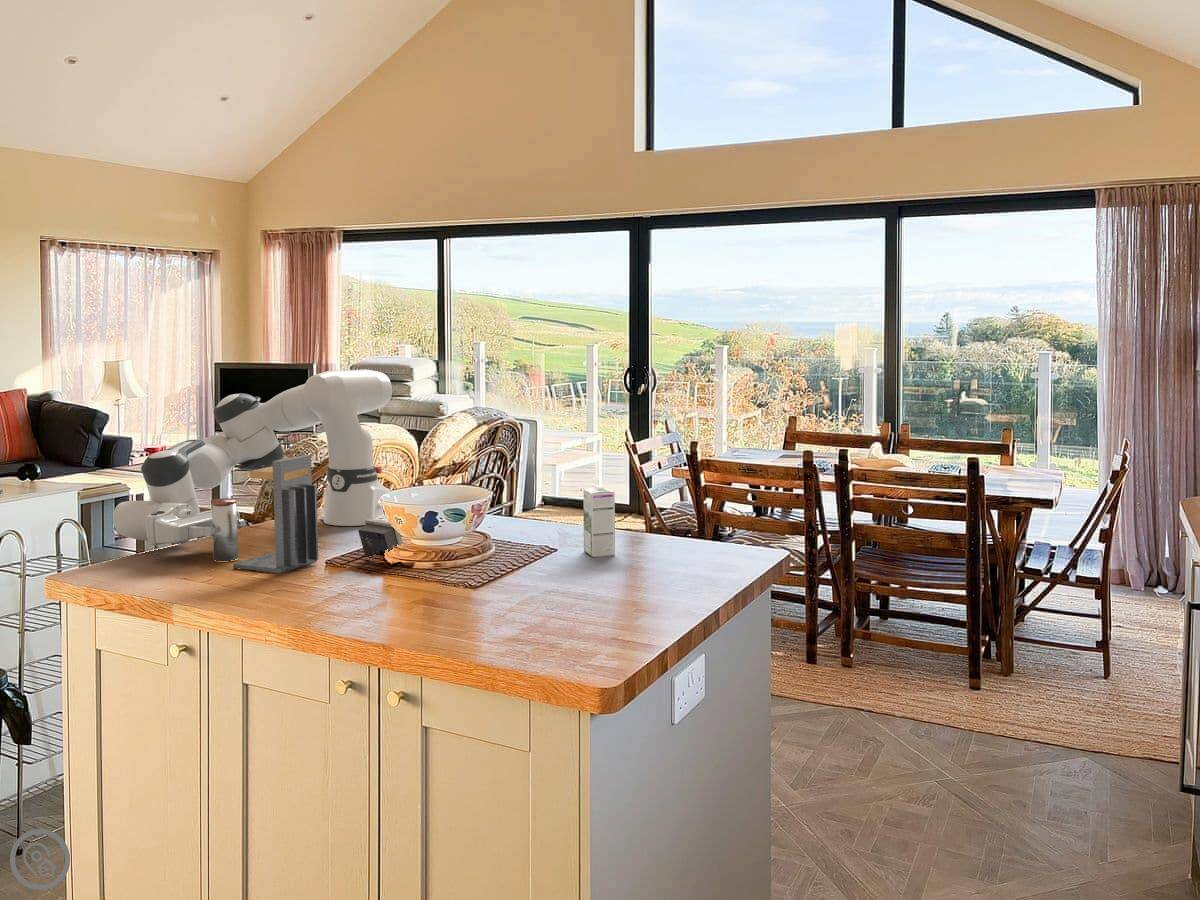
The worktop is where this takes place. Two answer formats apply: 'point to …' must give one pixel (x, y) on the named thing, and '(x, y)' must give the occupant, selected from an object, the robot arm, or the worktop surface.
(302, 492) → the bracket
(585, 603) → the worktop surface
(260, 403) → the robot arm
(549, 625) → the worktop surface
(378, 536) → the electrical switch
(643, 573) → the worktop surface
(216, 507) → the can
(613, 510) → the syrup box
